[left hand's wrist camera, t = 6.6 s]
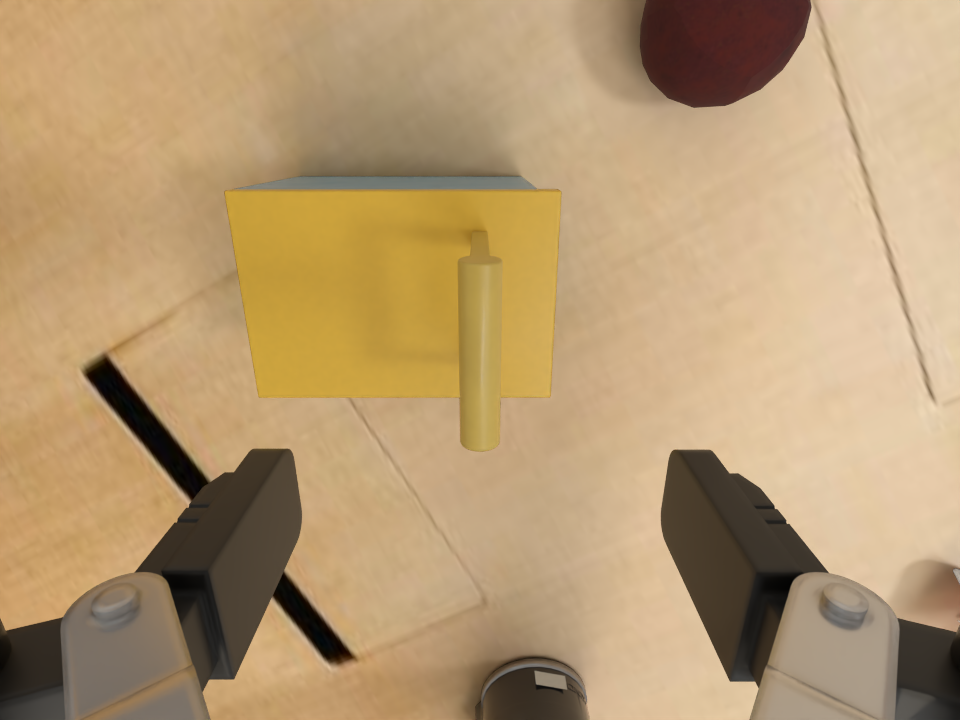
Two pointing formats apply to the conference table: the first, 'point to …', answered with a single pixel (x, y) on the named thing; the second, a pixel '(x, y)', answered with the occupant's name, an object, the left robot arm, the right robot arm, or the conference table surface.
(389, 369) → the lid
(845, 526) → the conference table surface
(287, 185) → the chest
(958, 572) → the fish
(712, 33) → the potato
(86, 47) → the conference table surface
